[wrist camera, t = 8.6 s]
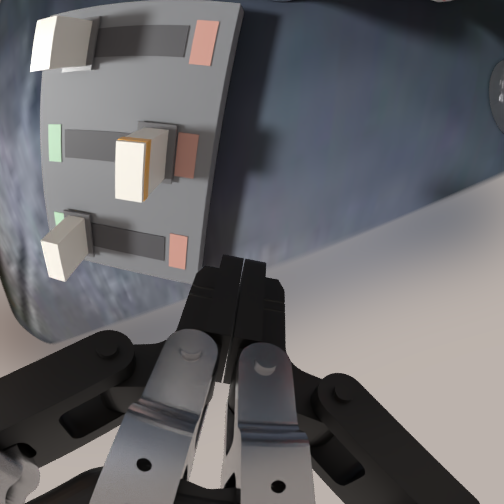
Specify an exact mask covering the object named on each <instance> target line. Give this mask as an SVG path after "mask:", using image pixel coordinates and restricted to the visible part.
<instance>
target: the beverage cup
mask: <svg viewBox="0 0 504 504" xmlns="http://www.w3.org/2000/svg"><path fill="white" fill-rule="evenodd" d="M432 1H436V2H446V1H452V0H432Z"/></svg>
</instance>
